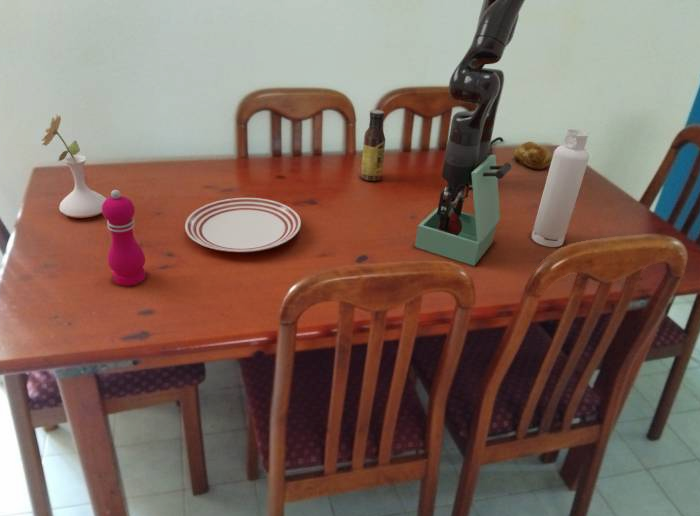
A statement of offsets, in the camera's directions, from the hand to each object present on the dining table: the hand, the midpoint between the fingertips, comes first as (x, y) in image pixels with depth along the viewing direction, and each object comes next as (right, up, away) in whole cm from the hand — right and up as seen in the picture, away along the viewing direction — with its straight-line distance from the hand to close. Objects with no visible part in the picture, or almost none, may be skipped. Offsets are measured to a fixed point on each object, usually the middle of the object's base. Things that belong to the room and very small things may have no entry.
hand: (449, 222), depth 147 cm
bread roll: (+35, +26, +53) cm, 68 cm away
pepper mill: (-71, -15, -20) cm, 75 cm away
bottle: (+26, -3, +8) cm, 28 cm away
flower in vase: (-91, +2, +2) cm, 91 cm away
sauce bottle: (-18, +17, +33) cm, 42 cm away
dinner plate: (-50, -3, 0) cm, 50 cm away
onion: (0, -4, +2) cm, 5 cm away
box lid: (+7, +5, -8) cm, 11 cm away
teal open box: (+1, -5, +2) cm, 6 cm away
